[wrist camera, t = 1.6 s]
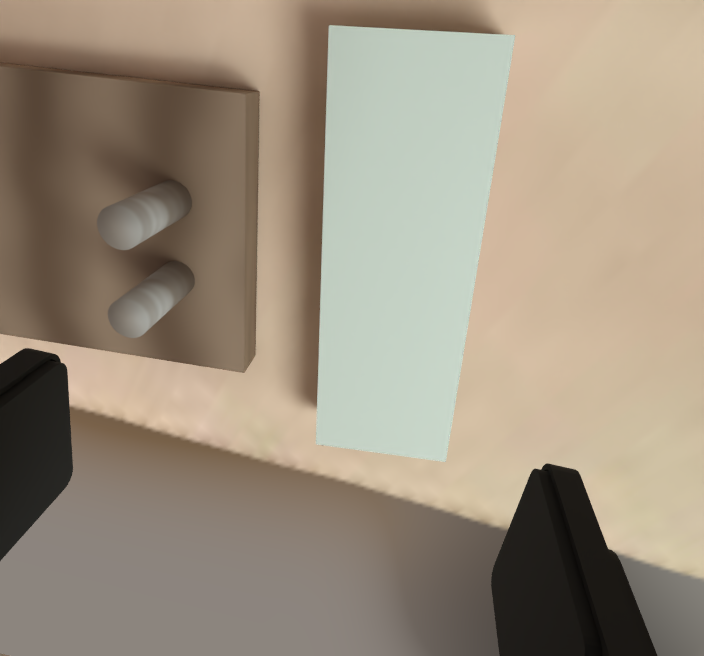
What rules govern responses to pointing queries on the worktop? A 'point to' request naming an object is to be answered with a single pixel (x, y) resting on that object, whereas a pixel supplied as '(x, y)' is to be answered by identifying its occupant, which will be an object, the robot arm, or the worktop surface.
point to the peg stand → (129, 215)
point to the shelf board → (402, 229)
